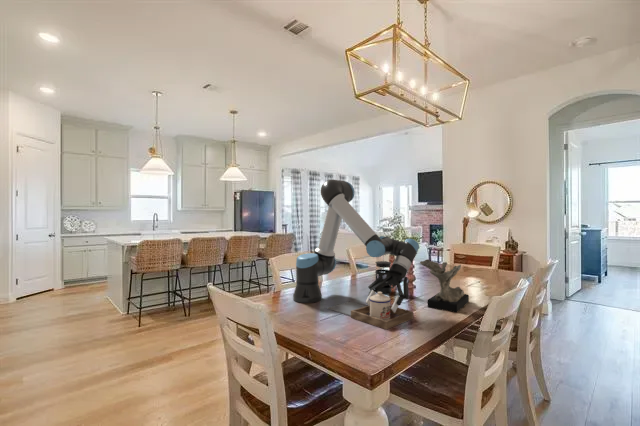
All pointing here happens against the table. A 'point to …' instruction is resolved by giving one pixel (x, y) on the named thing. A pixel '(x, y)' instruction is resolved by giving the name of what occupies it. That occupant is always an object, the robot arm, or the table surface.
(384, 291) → the french press
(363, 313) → the wooden frame
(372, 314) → the teacup with lid
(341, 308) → the rubber mat
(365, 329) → the table surface
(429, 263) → the coral
